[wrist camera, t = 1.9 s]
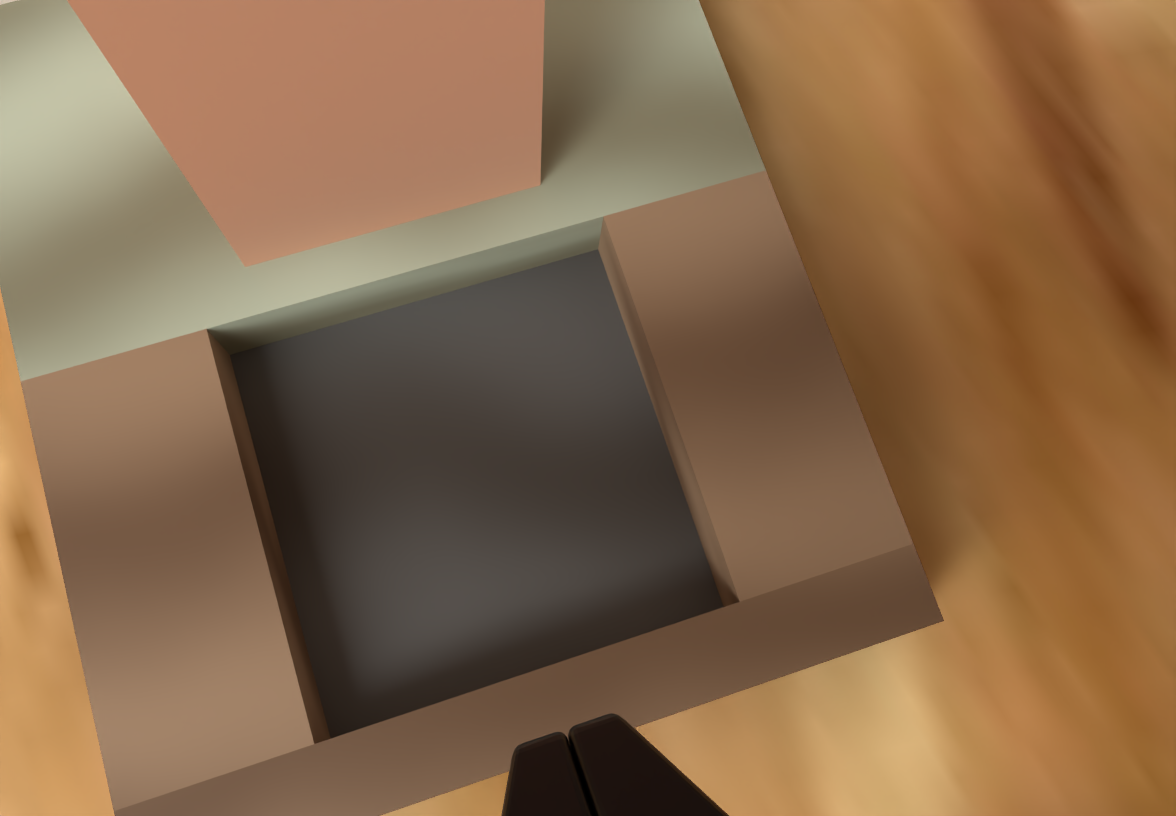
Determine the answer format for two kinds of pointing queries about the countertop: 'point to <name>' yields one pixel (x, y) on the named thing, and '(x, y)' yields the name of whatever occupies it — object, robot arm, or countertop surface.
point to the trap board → (433, 438)
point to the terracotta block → (332, 107)
